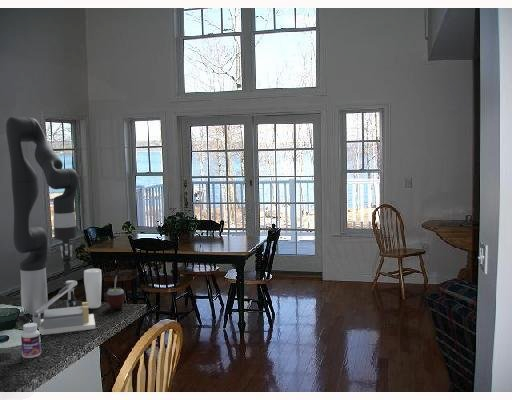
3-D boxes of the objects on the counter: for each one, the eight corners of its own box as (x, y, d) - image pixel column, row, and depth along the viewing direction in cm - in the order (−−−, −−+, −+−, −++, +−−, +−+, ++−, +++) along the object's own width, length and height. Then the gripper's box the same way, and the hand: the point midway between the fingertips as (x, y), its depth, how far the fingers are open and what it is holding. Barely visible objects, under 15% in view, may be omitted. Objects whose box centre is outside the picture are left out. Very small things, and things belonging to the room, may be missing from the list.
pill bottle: (22, 359, 166) (20, 328, 165) (22, 353, 171) (20, 323, 170) (41, 356, 168) (39, 326, 167) (40, 350, 173) (39, 321, 172)
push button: (73, 308, 217) (72, 284, 216) (60, 308, 217) (59, 283, 216) (80, 303, 224) (79, 279, 223) (67, 303, 224) (66, 279, 223)
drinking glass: (87, 310, 214) (85, 273, 213) (83, 305, 220) (82, 269, 219) (104, 307, 218) (103, 271, 216) (100, 303, 224) (99, 267, 222)
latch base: (28, 336, 186) (27, 315, 185) (30, 324, 198) (29, 305, 198) (95, 328, 193) (94, 308, 193) (93, 317, 206) (92, 299, 205)
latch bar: (35, 317, 191) (32, 313, 190) (36, 314, 194) (33, 310, 194) (77, 285, 194) (74, 281, 194) (77, 282, 198) (74, 278, 198)
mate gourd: (114, 305, 221) (113, 269, 219) (130, 307, 217) (129, 271, 216) (102, 310, 214) (100, 273, 212) (118, 313, 211) (117, 275, 209)
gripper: (76, 227, 188) (79, 276, 190) (75, 222, 200) (78, 268, 202) (53, 228, 185) (56, 278, 187) (54, 223, 198) (56, 270, 200)
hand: (67, 273), depth 195 cm, fingers closed
